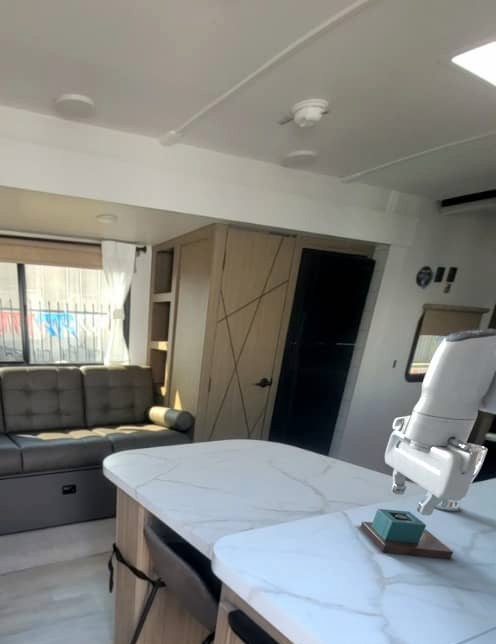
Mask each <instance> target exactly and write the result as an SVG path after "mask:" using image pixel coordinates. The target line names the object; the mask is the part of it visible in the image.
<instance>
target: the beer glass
mask: <svg viewBox="0 0 496 644" xmlns="http://www.w3.org/2000/svg"><path fill="white" fill-rule="evenodd" d="M467 443H468V444H470V445H472V446H473V451H474V454H475V460H476V466H475V471H474V474H473V478H472V481H471V484H472V483H473V481H474V480H475V478H476V477H477V475H478V474H479V472H480V470H481V468H482V466H483V463H484V461H485V458H486V455H487V452H488V448H487V447H485V446H483V445H479V444H475V443H470V442H467ZM469 452H470V451H469ZM461 501H462V499H461V500H443V501H442V502H441V503H439V504H438V505H437V506H436V507H435V508H436V509H438V510H442V511H446V512H457V511H459V510H460V506H461ZM435 508H434V509H435Z"/></svg>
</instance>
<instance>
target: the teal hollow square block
mask: <svg viewBox="0 0 496 644" xmlns="http://www.w3.org/2000/svg"><path fill="white" fill-rule="evenodd" d="M397 514H399V515H404V516H406V517H407V521H406V520H396V519H395V518H394V517H395V515H397ZM372 522H373V523H372V527H373V528H374V529H375V531H376V532H377V533H378V534H379V535H380V536H381V537H382V538H383V539H384V540H386V541H397V542H407V543H417V544H418V543H419V541H420V538H421V536H422V534H423V531H424V529H426V527H427V524H425V523H424V522H423V521H422V520H420V519H419V518H418V517H416V515H414V514H413V513H412V512H410V511H407V510H396V509H394V510H393V509H385V508H377V510H376V512H375V514H374V518H373V520H372Z"/></svg>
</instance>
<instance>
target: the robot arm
mask: <svg viewBox="0 0 496 644" xmlns="http://www.w3.org/2000/svg"><path fill="white" fill-rule="evenodd" d="M479 411H482V412H487V413H490V414H492V415H496V328H477V329H465V330H464V329H463V330H459V331H456V332H452V333H450V334H448V335H447V336H445V337H444V338H443V339H442V340H441V342H440V344H439V345H438V347H437V348H436V349H435V351H434V353H433V356H432V358H431V360H430V362H429V365H428V367H427V369H426V372H425V374H424V377H423V381H422V384H421V393H420V397H419V399H418V401H417V403H416V404H415V405H414V407H413V409H412V412H411V415H405V416H400V417H396V418H395V419H394V420H393V422H392V429H393V431H392V432H391V434H390V436H389V440H388V442H387V446H386V449H385V452H384V462H385V464H386V465H388V466H389V467H391V468H392V469H393V471H392V483H393V484H392V486H391V489H390V490H391V492H392V493H394V494H395V495H400V496H401V495H404V494H405V493H406V489H407V486H406V478H407V479H409V480H410V481H412V482H413V483H415V484H416V485H418V486H420V487H421V488H422V489H424V490H426V491H427V492H426V495H425V496H426V499H425V500H424V501H423V502H419V503H418V506H417V508H416V511H417V512H418V513H420V514H421V515H422V516H431V515H432V514H433V512H434V510H435V507H436V506H437V505H438V504H439V503H441V502H442V501H443V500H461V501H462V500H463V499H464V498H465V497H466V496H467V494H468V492H469V491H470V490H469V489H470V487H471V484H472V483H471V481H472V478H473V474H474V471H475V466H476V460H475V454H474V451H473V446H472V445H470V444H471V443H470V444H468V443H469V442H468V439H469V437H470V434H471V432H472V430H473V429H474V428H473V427H474V425H475V423H476V421H477V418H478V415H479ZM469 451H470V452H469ZM472 482H473V481H472Z"/></svg>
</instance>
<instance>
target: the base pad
mask: <svg viewBox="0 0 496 644" xmlns="http://www.w3.org/2000/svg"><path fill="white" fill-rule="evenodd" d="M394 518H395V519H396V520H406V521H407V517H406V516H404V515H399V514H397V515H395V517H394ZM372 523H373V521H372V522H370V521H361V524H360V527H359V528H360V529H361V531H363V532H364V534H365V535H366V536H367V537H368V538H369V539H370V540H371V541H372V542H373V544H374V545H375V546H377V548H378V549H379V550H380V551H381V552H382V553H389V554H399V555H410V556H419V557H428V558H429V557H430V558H437V559H438V558H439V559H449V560H451V558H452V556H453V554H454V551H453V550H452V549H451V548H449V547H448V546H447V545H446V544H444V543H443V542H442V541H441V540H439V539H438V538H437V537H436V536H434V535H433V534H432V533H431V532H430V531H429V530H427V529H426V528H425V529H424V531H423V534H422V536H421V538H420V541H419V543H418V544H417V543H407V542H397V541H386V540H384V539H383V538H382V537H381V536H380V535H379V534H378V533H377V532H376V531H375V529H374V528H373V527H372Z"/></svg>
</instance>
